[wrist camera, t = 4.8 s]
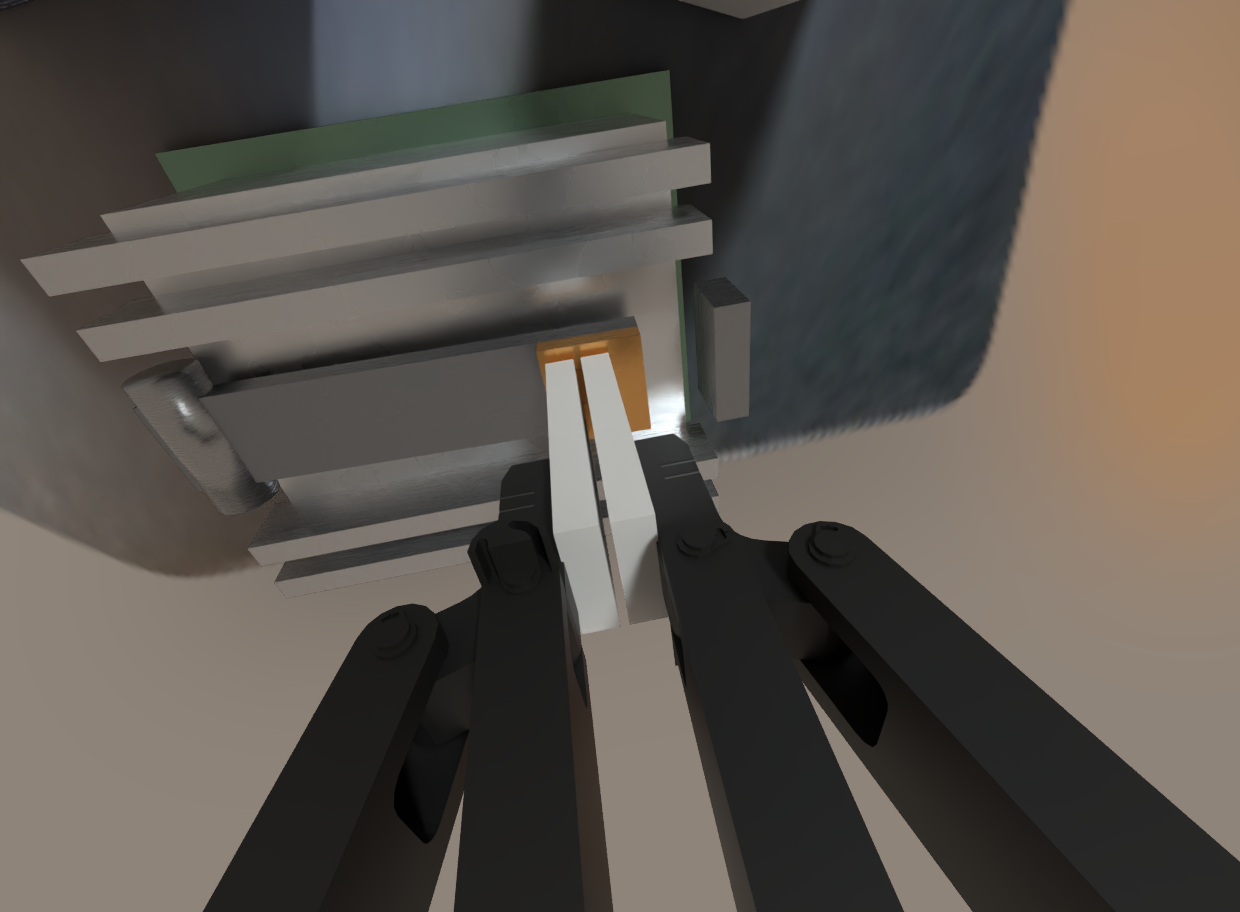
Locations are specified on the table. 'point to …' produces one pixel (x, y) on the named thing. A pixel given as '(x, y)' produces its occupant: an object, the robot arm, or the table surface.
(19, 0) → the small box
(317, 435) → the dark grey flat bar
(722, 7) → the jar
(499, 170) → the heatsink
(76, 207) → the table surface
